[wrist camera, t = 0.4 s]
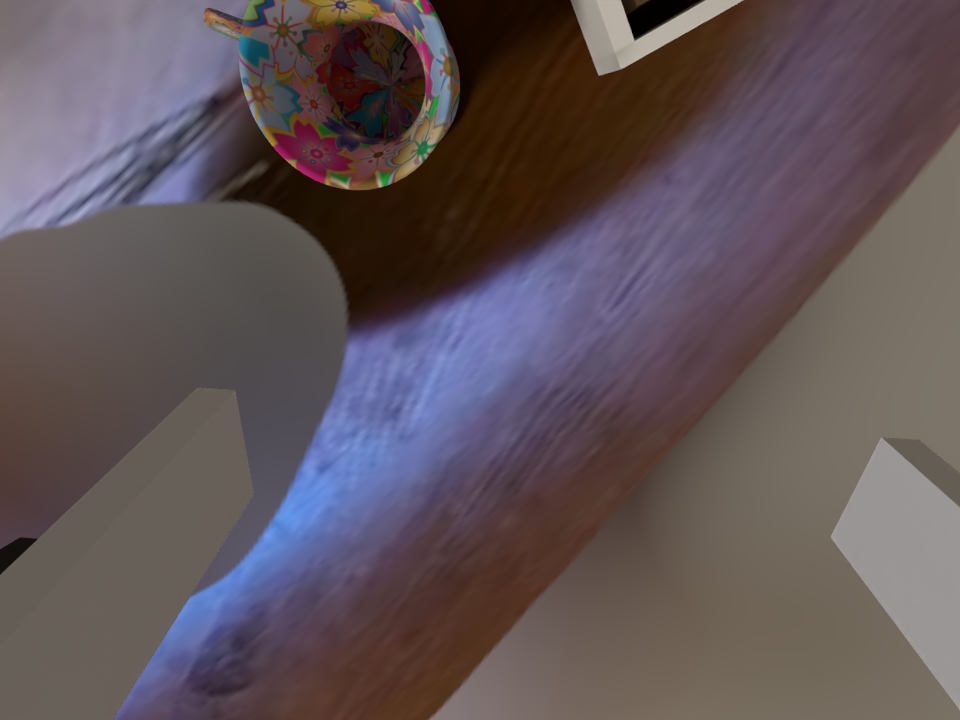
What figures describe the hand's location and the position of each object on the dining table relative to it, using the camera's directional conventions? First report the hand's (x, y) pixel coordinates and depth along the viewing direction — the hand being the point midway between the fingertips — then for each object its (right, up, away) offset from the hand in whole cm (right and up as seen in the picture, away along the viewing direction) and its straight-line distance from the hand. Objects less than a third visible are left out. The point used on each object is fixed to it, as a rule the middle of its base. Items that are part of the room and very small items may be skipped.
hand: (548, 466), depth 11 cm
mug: (-8, +20, +21) cm, 30 cm away
